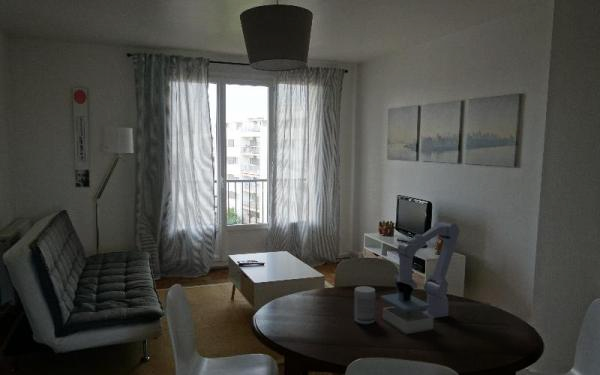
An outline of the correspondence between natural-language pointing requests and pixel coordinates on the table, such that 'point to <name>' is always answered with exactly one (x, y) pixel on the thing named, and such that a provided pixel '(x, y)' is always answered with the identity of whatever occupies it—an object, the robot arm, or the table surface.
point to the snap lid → (405, 302)
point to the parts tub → (408, 320)
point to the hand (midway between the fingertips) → (404, 299)
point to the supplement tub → (364, 304)
